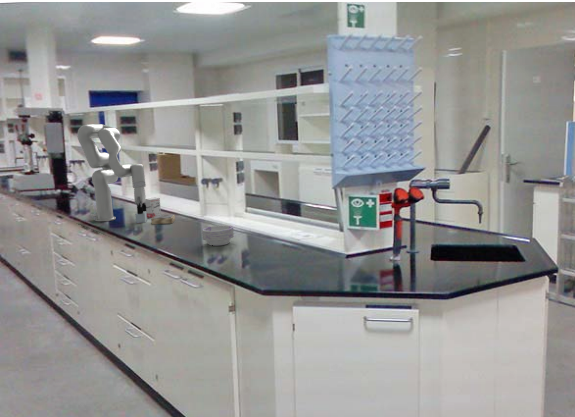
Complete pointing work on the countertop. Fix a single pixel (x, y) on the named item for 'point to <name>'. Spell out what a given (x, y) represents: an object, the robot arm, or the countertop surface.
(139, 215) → the cube
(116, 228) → the countertop surface
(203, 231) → the paper bowls
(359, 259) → the countertop surface
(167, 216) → the maple stand
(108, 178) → the robot arm
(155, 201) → the ink box
